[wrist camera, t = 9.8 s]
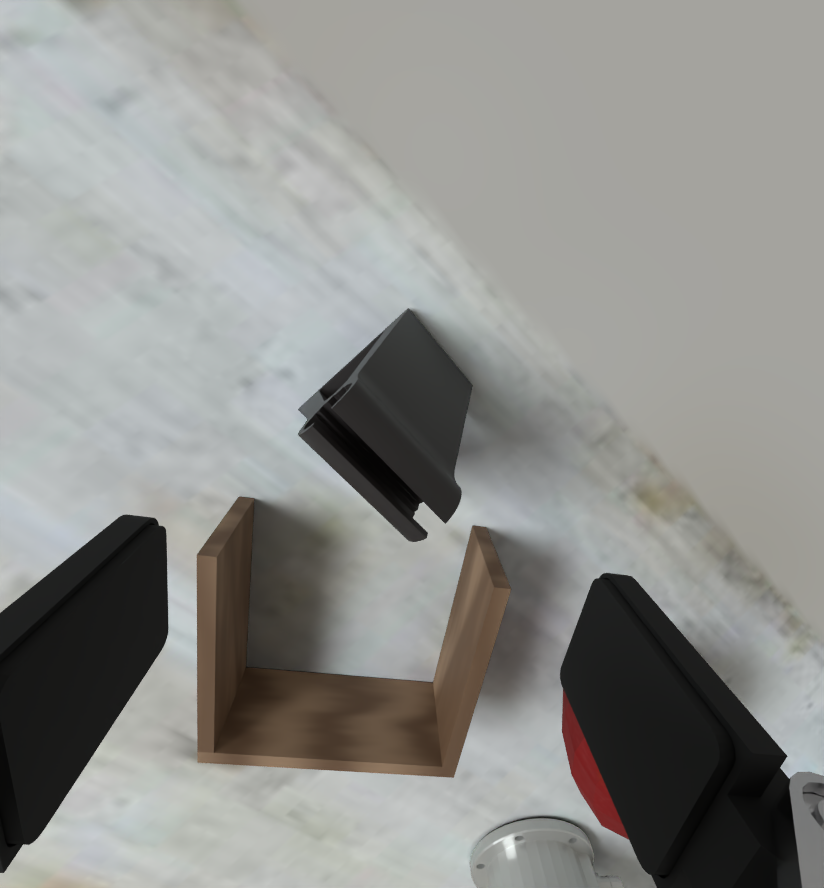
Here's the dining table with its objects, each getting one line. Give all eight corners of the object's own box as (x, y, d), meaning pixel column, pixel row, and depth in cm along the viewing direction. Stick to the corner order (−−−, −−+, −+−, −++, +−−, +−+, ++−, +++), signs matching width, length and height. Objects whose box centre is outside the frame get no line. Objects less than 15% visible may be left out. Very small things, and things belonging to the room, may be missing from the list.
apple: (593, 729, 38) (677, 910, 27) (508, 676, 35) (563, 854, 24) (691, 653, 35) (829, 819, 24) (608, 589, 32) (720, 744, 21)
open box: (486, 527, 30) (511, 589, 24) (442, 692, 35) (453, 777, 29) (238, 496, 28) (196, 554, 22) (232, 675, 33) (197, 762, 27)
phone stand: (408, 307, 24) (425, 324, 13) (471, 384, 26) (534, 457, 15) (298, 407, 26) (229, 497, 15) (364, 473, 28) (348, 598, 17)
